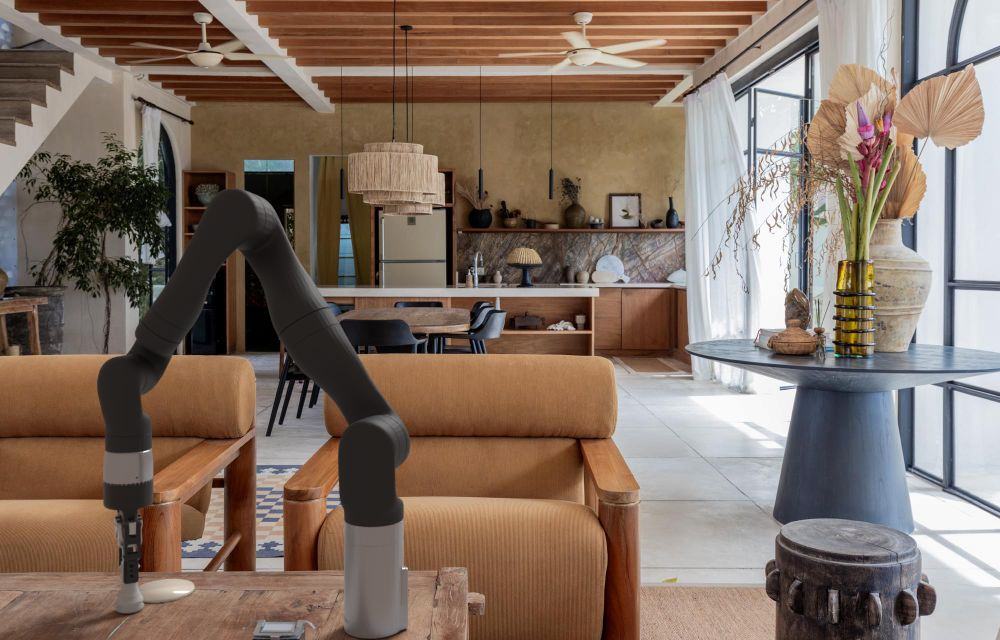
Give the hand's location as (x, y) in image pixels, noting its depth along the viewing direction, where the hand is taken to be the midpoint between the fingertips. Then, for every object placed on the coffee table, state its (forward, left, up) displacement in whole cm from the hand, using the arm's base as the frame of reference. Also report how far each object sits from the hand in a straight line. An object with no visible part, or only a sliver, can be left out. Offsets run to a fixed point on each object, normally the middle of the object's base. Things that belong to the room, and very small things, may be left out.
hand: (128, 574), depth 141 cm
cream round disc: (-6, -6, -6) cm, 10 cm away
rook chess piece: (0, 0, -6) cm, 6 cm away
